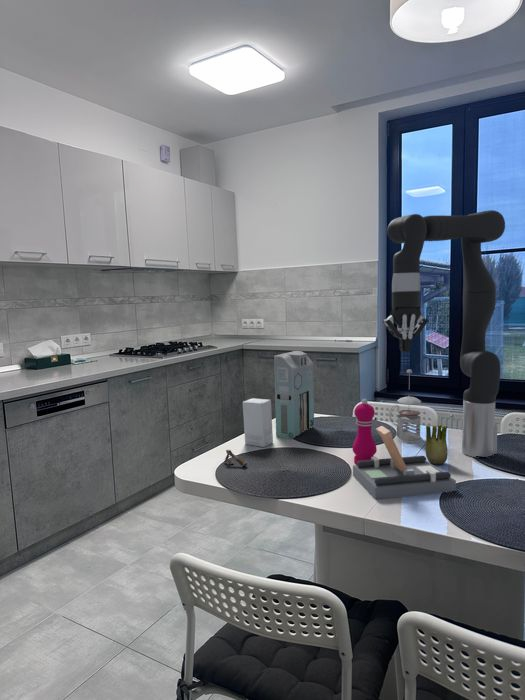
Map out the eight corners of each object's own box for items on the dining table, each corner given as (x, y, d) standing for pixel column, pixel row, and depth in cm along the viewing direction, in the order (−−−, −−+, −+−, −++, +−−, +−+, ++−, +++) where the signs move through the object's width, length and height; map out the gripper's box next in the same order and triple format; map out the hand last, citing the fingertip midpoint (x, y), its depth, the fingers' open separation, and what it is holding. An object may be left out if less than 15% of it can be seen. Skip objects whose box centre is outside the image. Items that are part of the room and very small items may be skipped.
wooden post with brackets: (224, 458, 147) (228, 447, 145) (243, 473, 143) (247, 461, 141) (221, 460, 145) (225, 448, 144) (239, 475, 141) (244, 463, 140)
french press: (427, 443, 160) (428, 371, 157) (393, 443, 160) (394, 372, 157) (418, 434, 170) (419, 367, 167) (386, 435, 170) (386, 367, 167)
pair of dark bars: (423, 460, 135) (423, 452, 135) (452, 480, 120) (453, 471, 120) (355, 465, 132) (355, 458, 132) (376, 487, 117) (376, 478, 117)
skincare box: (273, 442, 164) (272, 399, 162) (263, 448, 159) (262, 403, 157) (253, 439, 169) (252, 397, 167) (243, 444, 163) (242, 401, 161)
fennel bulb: (423, 463, 141) (424, 424, 140) (430, 458, 145) (431, 421, 143) (442, 467, 137) (443, 428, 136) (449, 463, 141) (450, 424, 140)
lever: (400, 465, 129) (381, 425, 127) (410, 473, 123) (390, 431, 121) (395, 468, 129) (375, 428, 127) (405, 476, 123) (384, 434, 121)
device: (293, 439, 168) (292, 356, 165) (275, 436, 172) (274, 355, 169) (314, 427, 182) (313, 351, 178) (297, 425, 186) (295, 350, 182)
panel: (424, 469, 136) (424, 452, 136) (455, 491, 120) (456, 472, 120) (352, 475, 133) (352, 458, 132) (375, 499, 117) (375, 479, 116)
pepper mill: (377, 467, 138) (377, 401, 136) (352, 466, 140) (352, 401, 138) (376, 459, 145) (376, 396, 143) (352, 458, 147) (352, 396, 145)
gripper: (421, 289, 133) (420, 349, 135) (377, 290, 131) (377, 351, 133) (435, 289, 125) (434, 352, 127) (389, 290, 123) (388, 355, 125)
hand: (405, 352), depth 130 cm, fingers closed
